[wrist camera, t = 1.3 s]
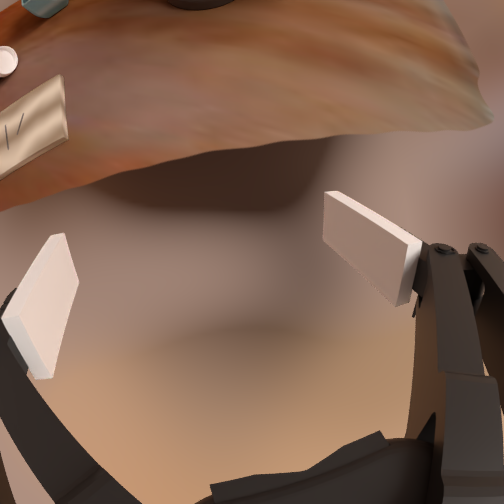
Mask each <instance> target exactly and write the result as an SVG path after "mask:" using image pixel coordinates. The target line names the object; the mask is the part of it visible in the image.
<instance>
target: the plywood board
mask: <svg viewBox="0 0 504 504" xmlns="http://www.w3.org/2000/svg"><path fill="white" fill-rule="evenodd" d="M67 140H68V131H67V120H66V108H65V92H64V77H63V76H62V75H60V74H58V75H57V76H55V77H53V78H52V79H50V80H48V81H47V82H45V83H43V84H42V85H40V86H39V87H37V88H35V89H34V90H32V91H31V92H29V93H28V94H26V95H25V96H23V97H22V98H20V99H19V100H17V101H16V102H14V103H13V104H12V105H10V106H9V107H7V108H6V109H5V110H3V111H2V112H1V113H0V180H1V179H3V178H4V177H6V176H7V175H9V174H10V173H12V172H14V171H15V170H17V169H18V168H20V167H22V166H23V165H25V164H26V163H28V162H30V161H31V160H33V159H35V158H36V157H38V156H40V155H42V154H43V153H45V152H47V151H49V150H50V149H52V148H54V147H56V146H58V145H60V144H61V143H63V142H65V141H67Z"/></svg>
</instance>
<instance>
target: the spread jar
mask: <svg viewBox="0 0 504 504" xmlns="http://www.w3.org/2000/svg"><path fill="white" fill-rule="evenodd" d="M17 63H18V57H17V54H16V52H15V51H14V50H13V49H12V48H11V47H8V46H1V47H0V77H5V76H8V75H9V74H11V73H12V72H13V71H14V70H15V68H16V66H17Z"/></svg>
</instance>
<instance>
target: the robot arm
mask: <svg viewBox="0 0 504 504" xmlns="http://www.w3.org/2000/svg"><path fill="white" fill-rule="evenodd" d="M167 1H168V2H169V3H171V4H172V5H174V6H176V7H179V8H183V9H189V10H202V9H210V8H215V7H218V6H222V5H224V4H227V3H229V2H231V1H233V0H167ZM324 196H325V197H324V224H323V241H324V242H325V243H326V244H328V245H329V246H330V247H331V248H332V249H333V250H334V251H335V252H337V253H338V254H339V255H340V256H341V257H342V258H343V259H344V260H345V261H346V262H348V263H349V264H350V265H351V266H352V267H353V268H354V269H355V270H356V271H358V272H359V273H360V274H361V275H362V276H363V277H364V278H365V279H366V280H367V281H368V282H369V283H370V284H371V285H373V286H374V287H375V288H376V289H377V290H378V291H379V292H380V293H381V294H382V295H383V296H384V297H385V298H386V299H387V300H388V301H390V302H391V303H392V304H393V305H394V306H395V307H397V306H400V305H403V304H406V303H409V301H410V297H411V293H412V289H413V290H414V291H415V292H416V293H417V294H418V297H417V301H416V304H415V308H414V311H413V315H412V317H415V315H416V331H415V353H414V368H413V381H412V391H411V401H410V409H409V417H408V424H407V430H406V434H405V438H393V439H385V438H384V436H383V435H382V433H381V432H380V431H377V432H375V433H373V434H370V435H368V436H366V437H364V438H361V439H359V440H357V441H354V442H352V443H350V444H347V445H344V446H343V447H341V448H340V449H338V450H337V451H335V452H334V453H332V454H331V455H329V456H328V457H327V458H325V459H323V460H322V461H320V462H319V463H317V464H316V465H314V466H313V467H311V468H309V469H308V470H305V471H301V472H290V473H277V474H259V475H251V476H248V477H243V478H239V479H235V480H230V481H225V482H221V483H216V484H210V488H211V492H212V495H211V496H208V497H206V498H204V499H202V500H200V501H199V502H197V503H195V504H504V459H503V457H504V456H503V455H504V454H503V431H502V418H501V408H502V411H503V414H504V262H503V260H502V259H501V258H500V257H499V256H498V255H497V254H496V252H495V251H494V250H493V249H491V248H490V247H488V246H487V245H485V244H483V243H472V244H470V245H469V248H468V252H467V254H458V252H457V251H456V250H455V249H454V248H453V247H451V246H448V245H446V244H439V243H435V244H431V245H428V244H426V243H425V242H424V241H422V240H420V239H419V238H417V237H416V236H413V234H411V233H409V232H407V231H406V230H405V229H403V228H401V227H399V226H397V225H395V224H394V223H392V222H390V221H388V220H387V219H385V218H384V217H382V216H380V215H379V214H377V213H375V212H374V211H372V210H370V209H369V208H367V207H365V206H363V205H362V204H360V203H358V202H356V201H355V200H353V199H351V198H349V197H348V196H345V195H344V194H342V193H340V192H339V191H330V192H325V195H324ZM78 285H79V280H78V277H77V274H76V271H75V268H74V264H73V261H72V258H71V255H70V251H69V248H68V244H67V241H66V237H65V234H64V233H60V234H55V235H51V236H50V237H49V239H48V240H47V242H46V243H45V245H44V246H43V248H42V249H41V251H40V252H39V254H38V255H37V257H36V258H35V260H34V262H33V263H32V265H31V266H30V268H29V270H28V271H27V273H26V275H25V276H24V278H23V280H22V281H21V283H20V285H19V286H18V288H15V289H14V290H13V291H12V292H11V293H10V294H9V295H8V296H7V298H6V300H5V301H4V304H3V305H2V306H1V308H0V417H1V419H2V421H3V423H4V425H5V427H6V429H7V431H8V432H9V434H10V436H11V438H12V440H13V441H14V443H15V445H16V446H17V448H18V450H19V451H20V453H21V455H22V456H23V458H24V459H25V461H26V463H27V464H28V465H29V467H30V469H31V470H32V472H33V473H34V475H35V476H36V478H37V479H38V480H39V482H40V483H41V484H42V486H43V487H44V489H45V490H46V492H47V493H48V494H49V495H50V497H51V498H52V500H53V501H54V502H55V504H142V503H141V502H140V501H138V500H137V499H136V498H135V497H134V496H133V495H131V494H130V493H129V492H128V491H127V490H126V489H125V488H123V486H121V485H120V484H119V483H118V482H117V481H116V480H115V479H114V478H113V477H112V476H111V475H110V474H109V473H108V472H107V471H106V470H105V469H103V468H102V467H101V466H100V465H99V464H98V463H97V462H96V461H95V460H94V459H93V458H92V457H91V456H90V455H89V454H88V453H87V451H86V450H85V449H84V448H83V447H82V446H81V445H80V444H79V443H78V442H77V441H76V439H75V438H74V437H73V436H72V435H71V433H70V432H69V431H68V430H67V429H66V428H65V426H64V425H63V424H62V423H61V421H59V419H58V418H57V416H56V415H55V414H54V413H53V412H52V410H51V409H50V408H49V406H48V405H47V404H46V402H45V401H44V400H43V398H42V397H41V395H40V394H39V393H38V391H37V390H36V388H35V387H34V386H33V384H32V383H31V381H30V380H29V378H28V377H27V375H26V374H27V371H28V368H29V370H30V372H31V373H32V375H33V376H34V378H35V379H36V380H38V379H50V378H53V375H54V370H55V366H56V361H57V357H58V353H59V349H60V346H61V342H62V338H63V334H64V331H65V327H66V323H67V320H68V316H69V313H70V310H71V306H72V303H73V300H74V297H75V294H76V291H77V288H78ZM483 293H484V295H483ZM482 359H483V360H482ZM483 362H484V364H485V366H486V369H487V371H488V373H489V376H485V374H484V367H483ZM500 406H501V407H500ZM0 504H16V503H15V500H14V497H13V494H12V491H11V488H10V485H9V482H8V478H7V476H6V472H5V468H4V465H3V461H2V457H1V453H0Z"/></svg>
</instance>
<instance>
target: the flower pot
mask: <svg viewBox="0 0 504 504" xmlns="http://www.w3.org/2000/svg"><path fill="white" fill-rule="evenodd" d="M67 5H68V0H22V6H23V7H24V8H26V9H27V10H28V11H30V12H31V13H32V14H34V15H35V16H37V17H41V18H50V17H51V16H53V15H54V14H55V13H57V12H58V11H60V10H61V9H62V8H64V7H65V6H67Z"/></svg>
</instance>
